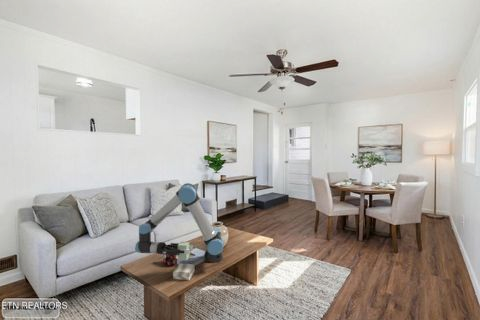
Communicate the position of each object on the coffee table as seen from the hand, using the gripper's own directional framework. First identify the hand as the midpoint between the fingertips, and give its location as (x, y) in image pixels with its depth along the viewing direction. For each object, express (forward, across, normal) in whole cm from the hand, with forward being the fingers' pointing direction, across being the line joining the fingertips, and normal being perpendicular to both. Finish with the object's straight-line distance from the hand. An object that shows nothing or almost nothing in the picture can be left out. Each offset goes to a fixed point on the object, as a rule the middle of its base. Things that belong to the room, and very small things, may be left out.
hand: (191, 249), depth 157 cm
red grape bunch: (-21, -15, -18) cm, 32 cm away
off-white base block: (-5, 0, -18) cm, 18 cm away
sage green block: (-5, 0, -6) cm, 8 cm away
